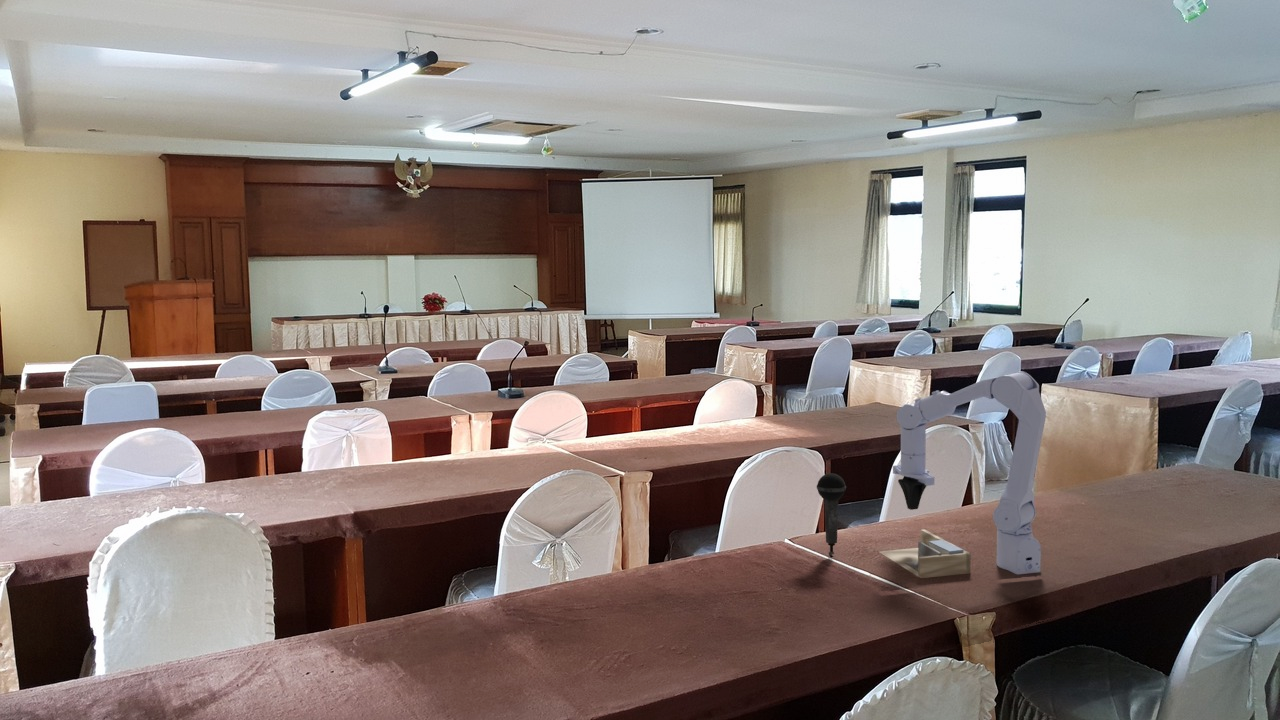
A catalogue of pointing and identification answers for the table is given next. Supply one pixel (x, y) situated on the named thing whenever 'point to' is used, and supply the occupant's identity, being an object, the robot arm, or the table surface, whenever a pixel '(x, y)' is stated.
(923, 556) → the wooden open box
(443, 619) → the table surface
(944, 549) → the grey-blue block
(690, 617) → the table surface
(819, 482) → the microphone
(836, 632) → the table surface
